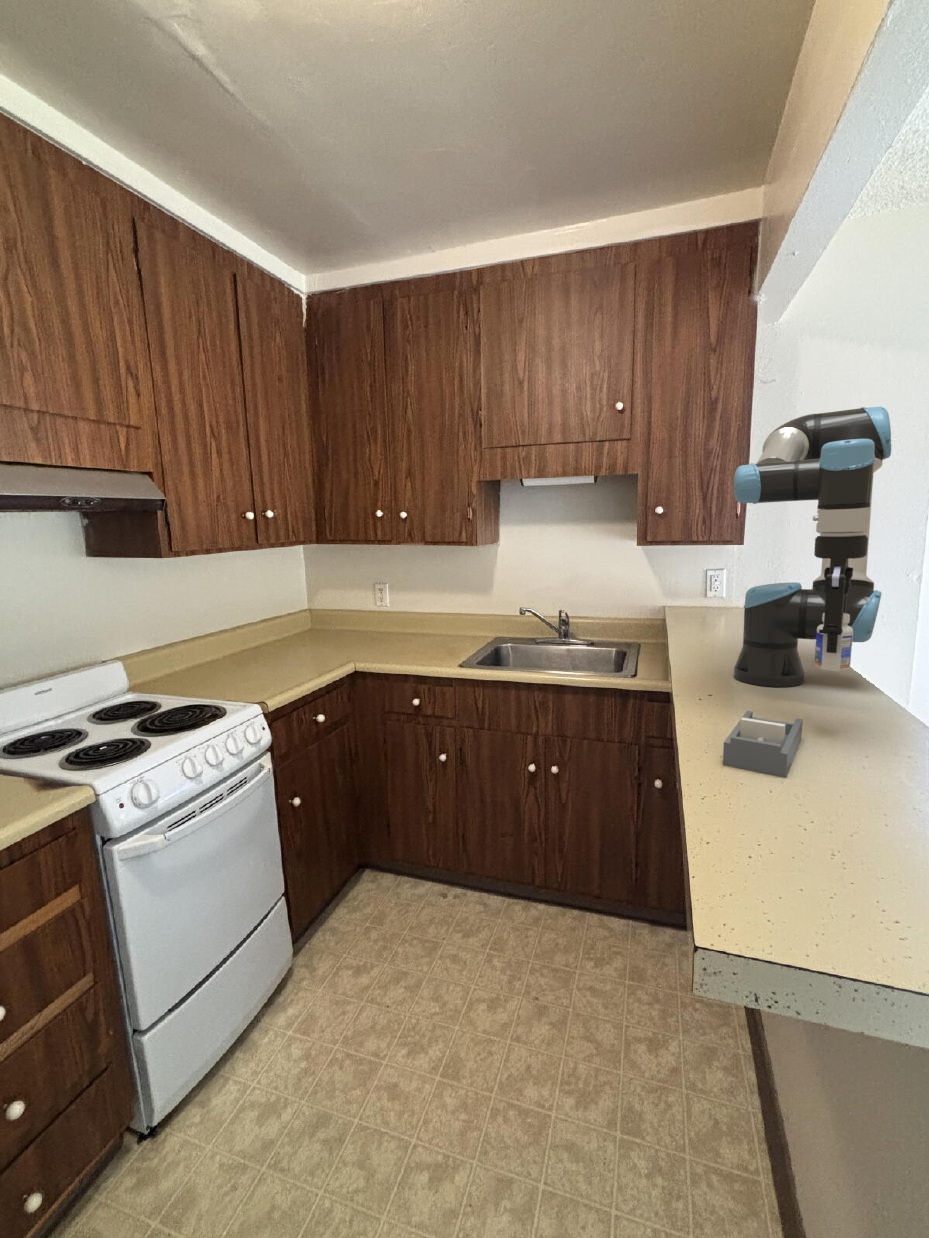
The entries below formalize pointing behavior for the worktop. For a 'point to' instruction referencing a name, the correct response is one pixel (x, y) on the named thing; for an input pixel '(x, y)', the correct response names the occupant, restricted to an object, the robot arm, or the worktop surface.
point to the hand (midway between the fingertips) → (832, 665)
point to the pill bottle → (845, 644)
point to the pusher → (763, 731)
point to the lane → (763, 749)
